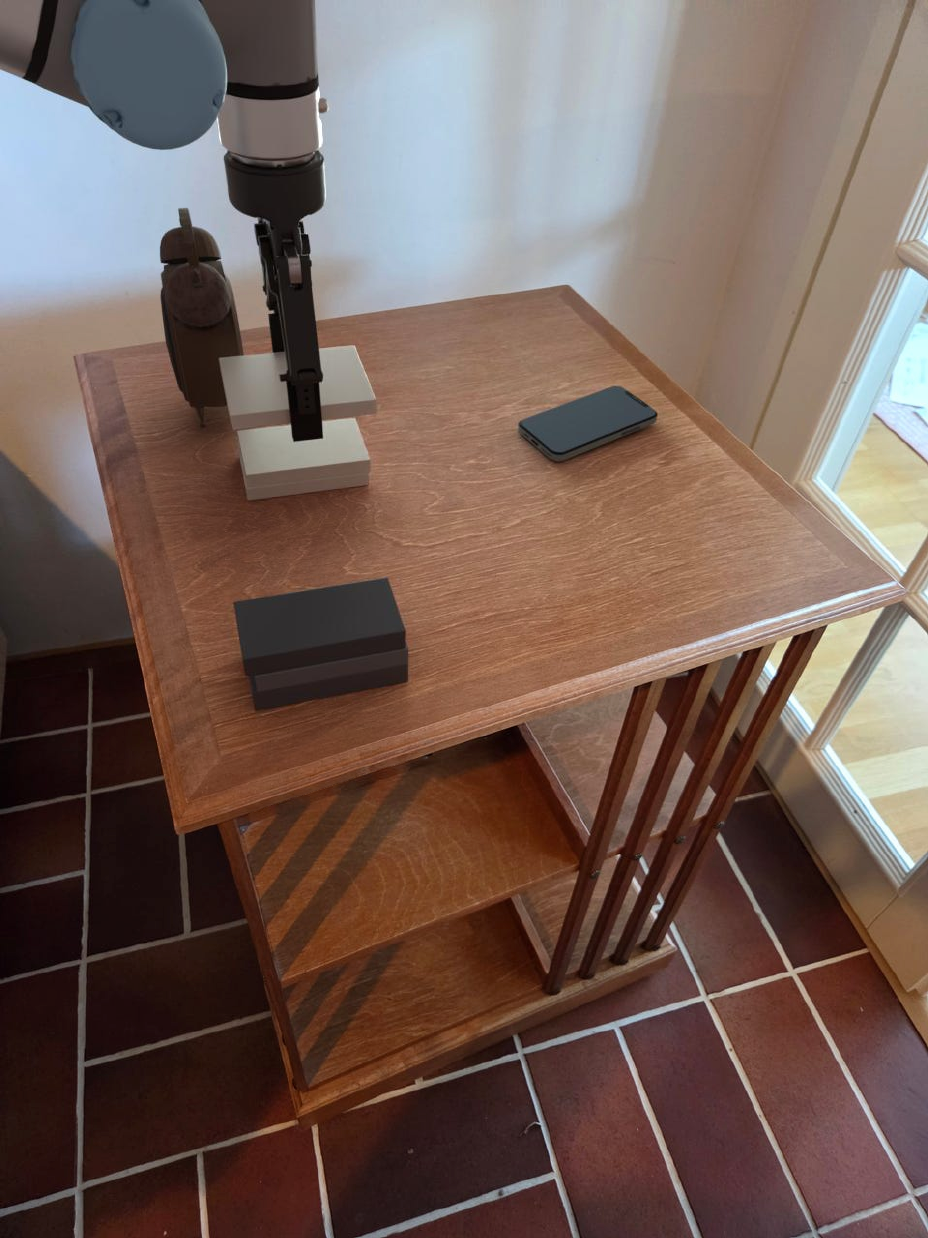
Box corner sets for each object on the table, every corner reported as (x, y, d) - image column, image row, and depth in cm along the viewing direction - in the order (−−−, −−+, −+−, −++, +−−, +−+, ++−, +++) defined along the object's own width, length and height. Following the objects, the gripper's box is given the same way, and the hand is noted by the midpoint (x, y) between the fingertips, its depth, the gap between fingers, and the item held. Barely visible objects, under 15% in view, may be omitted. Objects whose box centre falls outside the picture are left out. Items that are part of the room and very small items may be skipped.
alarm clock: (174, 373, 95) (136, 188, 81) (239, 367, 97) (212, 185, 83) (185, 446, 86) (143, 251, 71) (256, 438, 88) (230, 246, 73)
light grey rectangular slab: (232, 430, 73) (230, 415, 72) (220, 371, 80) (218, 357, 78) (377, 413, 76) (376, 399, 75) (354, 358, 83) (354, 344, 82)
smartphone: (514, 420, 91) (617, 381, 97) (513, 433, 92) (615, 394, 98) (557, 455, 87) (662, 413, 93) (555, 468, 88) (659, 426, 94)
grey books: (252, 711, 63) (242, 660, 59) (243, 653, 67) (233, 601, 63) (407, 681, 66) (409, 631, 62) (390, 627, 70) (390, 576, 66)
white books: (247, 501, 80) (243, 475, 78) (238, 455, 85) (234, 430, 83) (371, 484, 83) (370, 460, 81) (355, 441, 88) (354, 417, 86)
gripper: (352, 204, 56) (362, 471, 73) (299, 102, 71) (316, 343, 87) (239, 210, 55) (275, 482, 71) (208, 104, 69) (244, 350, 85)
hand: (298, 406), depth 79 cm, fingers closed on light grey rectangular slab, 10 cm apart
